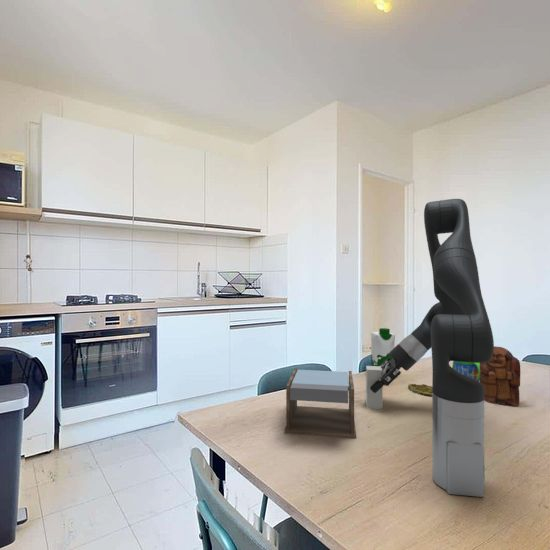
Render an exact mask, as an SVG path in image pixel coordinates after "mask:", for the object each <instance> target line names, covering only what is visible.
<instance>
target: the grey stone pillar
mask: <svg viewBox="0 0 550 550" xmlns="http://www.w3.org/2000/svg"><path fill="white" fill-rule="evenodd" d="M381 373H382V368H381V366H372V365H365V404H366V408H367V409H374V410H375V409H379V410H383V409H384V408H383V407H384V406H383V405H384V404H383V387H382V388H381V389H379V390H378V391H377V392H376V393H374V392H373V391H372V390H371V389H370V387H371V386H372V385H373V384H374V383H375V382H376V381H377V380H379V378H380V377H381Z"/></svg>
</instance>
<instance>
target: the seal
mask: <svg viewBox="0 0 550 550" xmlns="http://www.w3.org/2000/svg"><path fill="white" fill-rule="evenodd" d="M407 387H408V390H409V391H410V392H411V391H412V392H411V393H413V392H414V394H416V393H417V395H419V394H420V396H424V397H429V398H432V385H427V384H423V383H422V384H416V383H411V384H410V383H409V384H408V385H407Z"/></svg>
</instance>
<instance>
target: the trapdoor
mask: <svg viewBox="0 0 550 550" xmlns="http://www.w3.org/2000/svg"><path fill="white" fill-rule="evenodd" d="M290 400H297V401H300V402H302V401H303V402H320V403H336V404H338V403H339V404H349V371H341V370H340V371H338V370H337V371H333V370H314V369H297V373H296V375H295V377H294V379H293V382H292V385H291V387H290Z"/></svg>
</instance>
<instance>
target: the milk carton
mask: <svg viewBox="0 0 550 550" xmlns="http://www.w3.org/2000/svg"><path fill="white" fill-rule="evenodd" d="M390 331H391V330H390V328H387V327H386V328H385V327H384V328H379V329H378V331H371V332H370V335H371V336H370V341H371V345H370V346H371V347H370V348H371V360H370V361H371V362H370V363H371V366H380V365H381V364H382V363H383V362H384V361H385V360H386V359H387V358H390V359H392V357H391V355H390V354H389V352H390V351H391V350H392V349H393V348H395V347H396V345H395V344H396V343H395V338H396V335H395V334H394V333H392V332H390ZM383 368H384V367H383Z"/></svg>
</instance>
